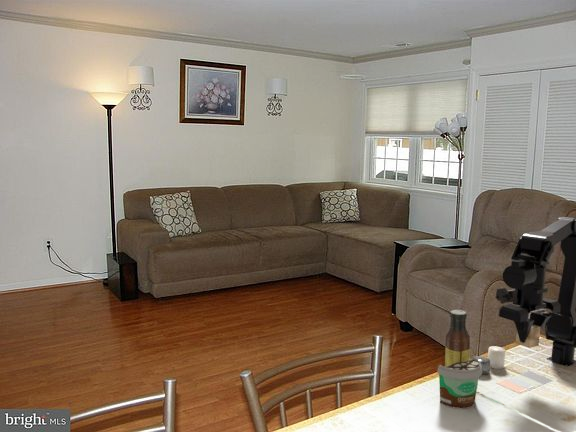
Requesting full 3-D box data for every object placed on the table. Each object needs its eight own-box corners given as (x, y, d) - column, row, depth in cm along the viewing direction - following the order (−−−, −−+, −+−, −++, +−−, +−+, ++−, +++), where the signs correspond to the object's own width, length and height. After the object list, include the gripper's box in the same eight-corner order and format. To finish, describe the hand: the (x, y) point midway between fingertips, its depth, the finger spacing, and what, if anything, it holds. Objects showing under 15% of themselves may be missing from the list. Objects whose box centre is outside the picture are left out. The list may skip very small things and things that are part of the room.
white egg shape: (493, 363, 153) (495, 345, 152) (507, 368, 149) (508, 350, 148) (484, 366, 150) (485, 348, 150) (497, 372, 147) (498, 353, 146)
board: (528, 372, 147) (528, 370, 146) (552, 382, 141) (553, 379, 141) (496, 385, 139) (496, 382, 139) (520, 396, 133) (520, 393, 133)
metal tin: (477, 368, 149) (478, 354, 149) (493, 374, 145) (494, 360, 145) (466, 372, 147) (467, 358, 146) (481, 379, 143) (482, 364, 142)
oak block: (524, 340, 141) (526, 322, 140) (538, 345, 137) (540, 326, 137) (515, 343, 138) (517, 324, 138) (529, 348, 135) (531, 329, 134)
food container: (454, 415, 123) (456, 375, 122) (435, 403, 129) (437, 365, 127) (491, 403, 129) (494, 365, 128) (472, 393, 134) (474, 355, 133)
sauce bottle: (466, 379, 142) (470, 308, 139) (471, 390, 136) (476, 316, 133) (441, 378, 143) (445, 307, 140) (445, 388, 136) (449, 315, 134)
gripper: (525, 272, 148) (520, 326, 150) (482, 279, 137) (478, 337, 139) (564, 281, 138) (558, 338, 140) (521, 290, 128) (516, 351, 130)
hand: (527, 340), depth 138 cm, fingers closed on oak block, 4 cm apart
